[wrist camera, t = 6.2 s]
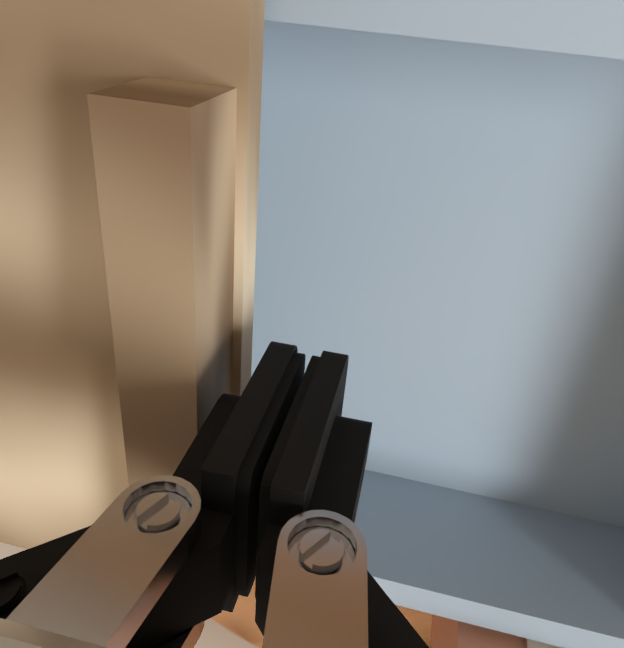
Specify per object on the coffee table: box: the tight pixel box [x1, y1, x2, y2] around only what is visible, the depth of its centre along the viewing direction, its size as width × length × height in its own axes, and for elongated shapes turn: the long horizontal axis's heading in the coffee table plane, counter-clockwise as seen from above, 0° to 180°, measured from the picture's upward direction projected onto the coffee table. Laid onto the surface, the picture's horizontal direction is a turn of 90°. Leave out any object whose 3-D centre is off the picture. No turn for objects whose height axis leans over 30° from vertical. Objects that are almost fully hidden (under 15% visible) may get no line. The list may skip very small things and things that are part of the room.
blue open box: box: [251, 0, 624, 648], centre depth 16 cm, size 16×20×5 cm
